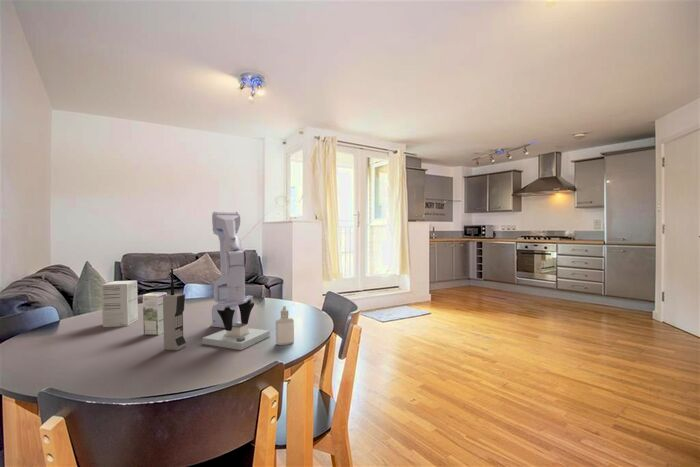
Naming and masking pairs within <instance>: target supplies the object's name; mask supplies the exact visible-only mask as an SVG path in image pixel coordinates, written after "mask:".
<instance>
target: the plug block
mask: <svg viewBox="0 0 700 467" xmlns="http://www.w3.org/2000/svg"><path fill="white" fill-rule="evenodd" d="M248 328H249V324H247V325H246V324H241V323H232V330H231V331H226V336H232V337H243V336H245V335H247V334H248Z"/></svg>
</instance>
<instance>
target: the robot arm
mask: <svg viewBox="0 0 700 467" xmlns="http://www.w3.org/2000/svg"><path fill="white" fill-rule="evenodd" d="M211 216H212V217H211V218H212V219H211V220H212V222H211V224H212V233H213V234H214V235H216V236H217V237H218V240H219V256H220V258H219V259H220V275H221V277H220V278H218V279H217V280H216V281H215V282H214V283H213V300H214V302H215V303H214V304H213V305H212V306H211V323H212V324H210V327H214V328H215V327H216V328H222V329H224V330H226V331H231V330H232V323H241V324H246V325H249V320H250V317H251V316H250V315H251V313H252V310H253V308H254V306H255V302H253V301H254V296H253V295H246V277H245V276H246V270H245V268H246V267H247V262H248V261H247V252H246V250H245V249H244V248H243V246H242V241H241V238H240V236H238V235H237V234H238V232H239V229H240V226H241V214H240V212H239V211H234V212H233V211H213V212H212V215H211ZM239 313H240V320H239Z"/></svg>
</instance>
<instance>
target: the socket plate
mask: <svg viewBox="0 0 700 467" xmlns="http://www.w3.org/2000/svg"><path fill="white" fill-rule="evenodd" d="M270 337H271V333H270V330H268V329H259V328H251V327H250V328H249V327H248V334H247V335H245V336H243V337H232V336H226V330H225V329H223V330H219V331H217V332H214V333H212V334H208V335H207V336H206V335H205V336H203V337H202V338H201V339H202V341H201V342H202V345H207V346H214V347H219V348H225V349H233V350H238V351H243V350H244V349H246V348H249V347H251V346H253V345H255V344H257V343H259V342H261V341H263V340H265V339H267V338H270Z"/></svg>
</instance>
